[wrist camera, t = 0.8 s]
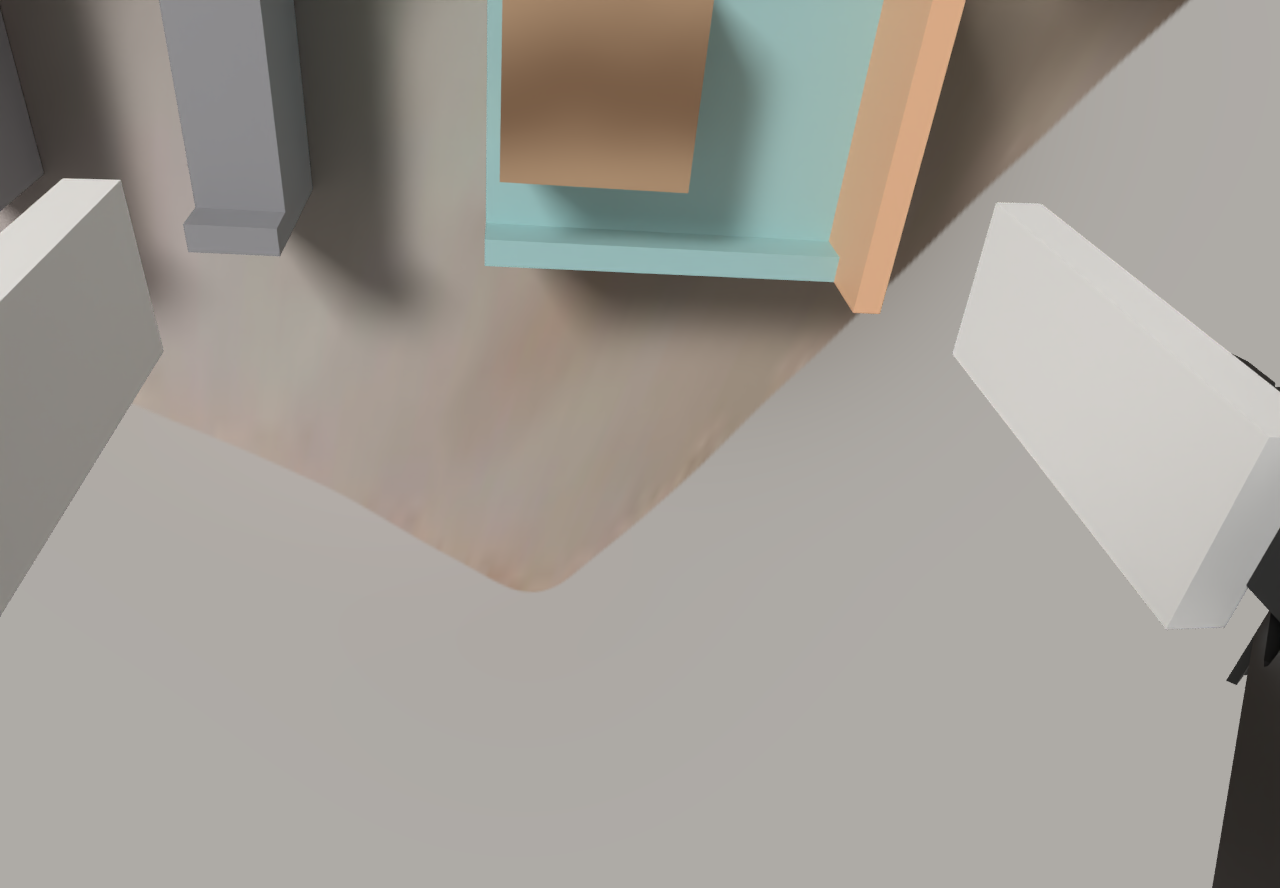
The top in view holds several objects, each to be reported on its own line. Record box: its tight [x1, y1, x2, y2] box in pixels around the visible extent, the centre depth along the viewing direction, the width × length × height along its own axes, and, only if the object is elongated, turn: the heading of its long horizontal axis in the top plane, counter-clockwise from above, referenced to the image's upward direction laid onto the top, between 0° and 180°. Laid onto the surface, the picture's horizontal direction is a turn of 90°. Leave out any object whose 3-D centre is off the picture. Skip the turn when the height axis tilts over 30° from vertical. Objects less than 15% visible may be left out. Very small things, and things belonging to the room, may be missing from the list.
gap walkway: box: [0, 0, 966, 314], centre depth 31 cm, size 14×34×9 cm, turn 85°
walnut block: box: [500, 0, 714, 193], centre depth 30 cm, size 6×6×4 cm
